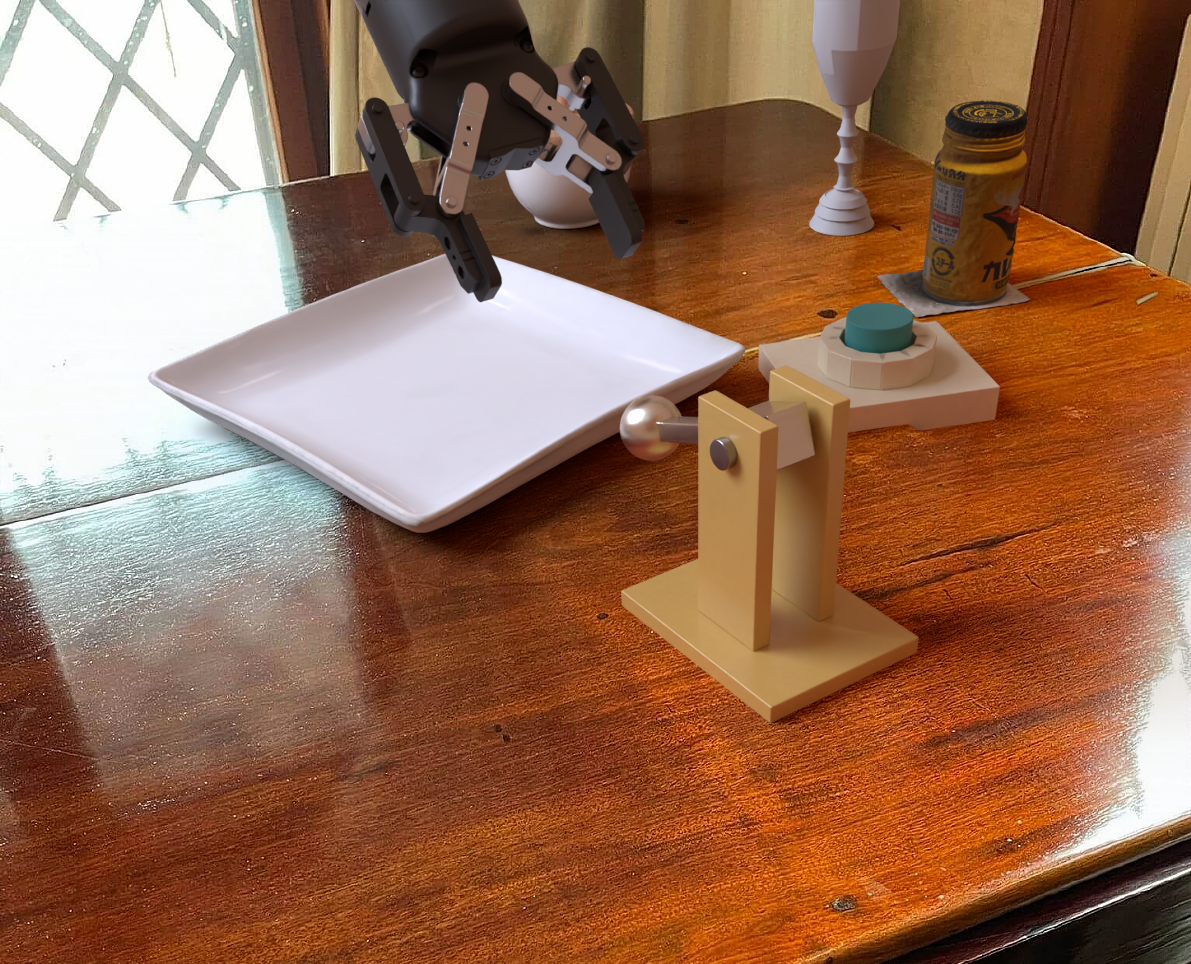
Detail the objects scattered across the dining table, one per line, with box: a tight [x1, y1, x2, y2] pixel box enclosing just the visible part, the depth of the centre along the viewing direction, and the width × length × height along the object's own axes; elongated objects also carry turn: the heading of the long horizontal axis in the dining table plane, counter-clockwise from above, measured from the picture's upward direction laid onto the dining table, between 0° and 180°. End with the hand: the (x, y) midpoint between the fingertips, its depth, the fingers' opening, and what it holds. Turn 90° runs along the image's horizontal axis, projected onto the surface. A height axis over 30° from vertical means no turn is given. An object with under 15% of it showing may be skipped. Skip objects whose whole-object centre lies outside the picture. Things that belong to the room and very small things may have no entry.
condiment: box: [876, 100, 1031, 318], centre depth 96 cm, size 7×8×12 cm
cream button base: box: [757, 316, 1001, 433], centre depth 87 cm, size 12×10×4 cm
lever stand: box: [620, 365, 919, 724], centre depth 65 cm, size 12×9×13 cm
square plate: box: [147, 253, 747, 534], centre depth 88 cm, size 27×27×4 cm
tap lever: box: [619, 395, 815, 470], centre depth 67 cm, size 13×3×3 cm, turn 34°
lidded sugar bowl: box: [504, 95, 635, 230], centre depth 112 cm, size 11×11×9 cm
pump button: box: [845, 302, 915, 354], centre depth 85 cm, size 4×4×2 cm
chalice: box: [808, 0, 901, 237], centre depth 105 cm, size 7×7×18 cm
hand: (562, 271), depth 72 cm, fingers open, 8 cm apart
